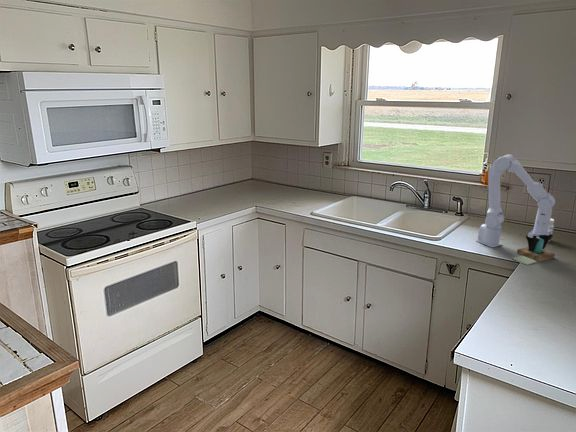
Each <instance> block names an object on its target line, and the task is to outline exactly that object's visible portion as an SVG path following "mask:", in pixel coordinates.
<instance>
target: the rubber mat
mask: <svg viewBox="0 0 576 432" xmlns="http://www.w3.org/2000/svg"><path fill="white" fill-rule="evenodd" d="M513 259H514V260H513ZM512 260H513V261H515V260H516V262H518V263H521V264H523V265H525V266H528V265H532V264H536V263H538V261H535V260H533V259H530V258H528V257H525V256H523V255H520V256H515V257H513V258H512Z"/></svg>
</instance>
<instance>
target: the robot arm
mask: <svg viewBox="0 0 576 432" xmlns="http://www.w3.org/2000/svg"><path fill="white" fill-rule="evenodd" d="M506 170H507V173H513V174H515V175H516V176H517V177H518V178H519V180H521V181H522V182H523V184H525V185H526V191H527V192H528V194H529V195H531V197H532V198H533V200H535V201H536V202H537V212H536V216H535V221H534V226H533V229H532V230H531V231H530V232H528V234H526V235H525V238H526V241H527V244H528V245H527V247H529V251H532V252H534V250H535V247H536V245H537V243H538V241H539V240H540V239H538V238H537V237H538V236H540V238H541V239H543V240H544V243H543V248H542V249H544V250H545V248H546V246H547V244H548V243H549V242H548V241H549V240H550V239H551V240H552V239H553V235H554V234H552V235H551V233H552V229H549V224H550V219H551V218H552V212H553V207H554V206H555V204H556V199H555V197H554V195H552V194H550V192H548V191H547V190H546V189H545V188H544V185H543V183H540V182H538V181H534V179H533V178H532V177H531V176H530V175H529V173H528V171H526V169H525V168H524V167H523V165H522V163H520V161H519V160H518V159H517V158H516V157H515V156H514V155H513V154H509V153H508V154H505V155H503V156H500V157H497V159H495V160H494V161H493V163H492V165H491V167H490V168H489V169H488V173H487V178H488V180H487V183H488V185H487V186H488V189H487V190H488V210H487V212H486V217H485V219H484V223H483V224H481V225H480V227H479V229H478V235H477V239H476V241H475V242H478V243H480V244H483V245H485V246H487V247H489V248H496V247H500V246H503V243H502V242H500V238H501V233H502V228H503V227H502V224H503V223H504V221H505V215H504V213H503V209H502V207H501V175H502V174H503V173H504V172H506Z"/></svg>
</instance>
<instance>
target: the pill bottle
mask: <svg viewBox="0 0 576 432" xmlns="http://www.w3.org/2000/svg"><path fill="white" fill-rule="evenodd" d="M554 223H555V219H554V218H552V217H551V219H550V224H549V229H552V233H551V235H554V234H553V233H554V228H555V225H554ZM536 237H537V238H540V236H536ZM551 240H552V238H551V239H550V240H549V241H548V243H550V242H551Z"/></svg>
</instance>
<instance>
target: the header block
mask: <svg viewBox="0 0 576 432" xmlns="http://www.w3.org/2000/svg"><path fill="white" fill-rule="evenodd" d="M516 253H517V254H519V255H520V254H521V255H520V256H525V257H528V258H530V259H533V260H535V261H537V263H538V262H543V261H547V260H550V259H551V260H552V259H554V258H555V255H556V253H554V252H551V251H548V250H546V249H545V248H544V249H542V252H541V254H535V253H532V252H531V251H529V247H528V246H525V247H521V248H517V252H516Z"/></svg>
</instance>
